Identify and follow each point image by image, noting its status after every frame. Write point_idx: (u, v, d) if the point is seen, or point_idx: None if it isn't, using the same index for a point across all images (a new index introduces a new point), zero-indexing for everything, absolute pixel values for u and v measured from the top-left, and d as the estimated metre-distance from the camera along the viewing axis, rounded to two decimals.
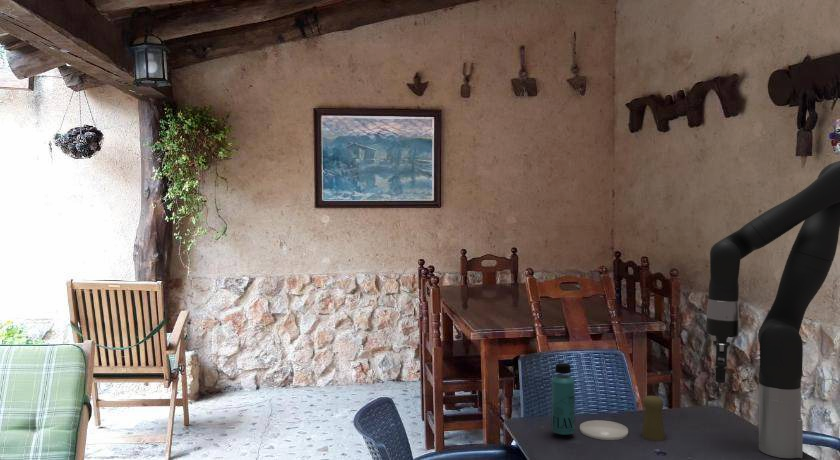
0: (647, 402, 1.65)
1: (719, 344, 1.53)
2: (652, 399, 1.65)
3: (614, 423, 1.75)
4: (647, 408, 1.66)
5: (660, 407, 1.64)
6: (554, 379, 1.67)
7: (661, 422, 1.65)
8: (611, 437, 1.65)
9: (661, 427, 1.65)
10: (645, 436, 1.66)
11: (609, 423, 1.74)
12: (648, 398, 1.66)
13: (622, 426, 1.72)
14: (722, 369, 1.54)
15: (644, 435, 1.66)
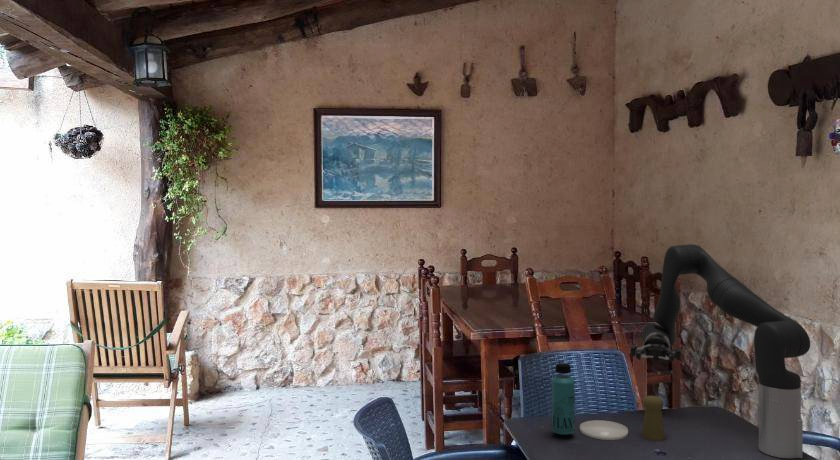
0: (647, 402, 1.65)
1: None
2: (652, 399, 1.65)
3: (614, 423, 1.75)
4: (647, 408, 1.66)
5: (660, 407, 1.64)
6: (554, 379, 1.67)
7: (661, 422, 1.65)
8: (611, 437, 1.65)
9: (661, 427, 1.65)
10: (645, 436, 1.66)
11: (609, 423, 1.74)
12: (648, 398, 1.66)
13: (622, 426, 1.72)
14: (636, 352, 1.83)
15: (644, 435, 1.66)
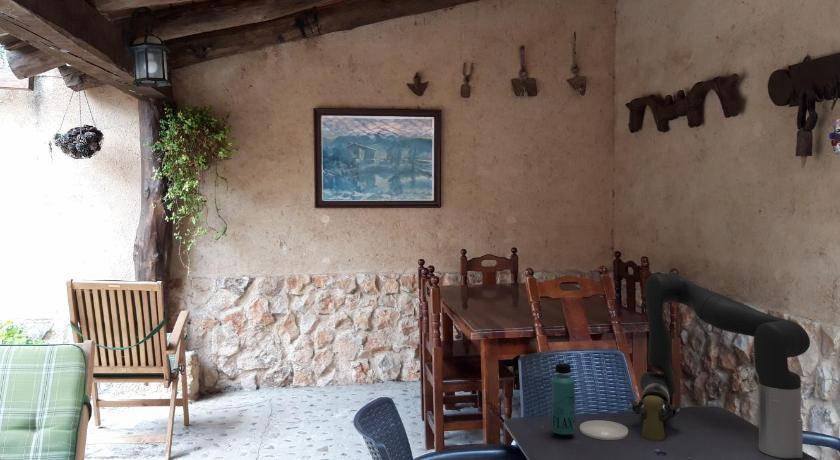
0: (647, 402, 1.65)
1: None
2: (652, 399, 1.65)
3: (614, 423, 1.75)
4: (647, 408, 1.66)
5: (660, 407, 1.64)
6: (554, 379, 1.67)
7: (661, 422, 1.65)
8: (611, 437, 1.65)
9: (661, 427, 1.65)
10: (645, 436, 1.66)
11: (609, 423, 1.74)
12: (648, 398, 1.66)
13: (622, 426, 1.72)
14: (641, 410, 1.70)
15: (644, 435, 1.66)
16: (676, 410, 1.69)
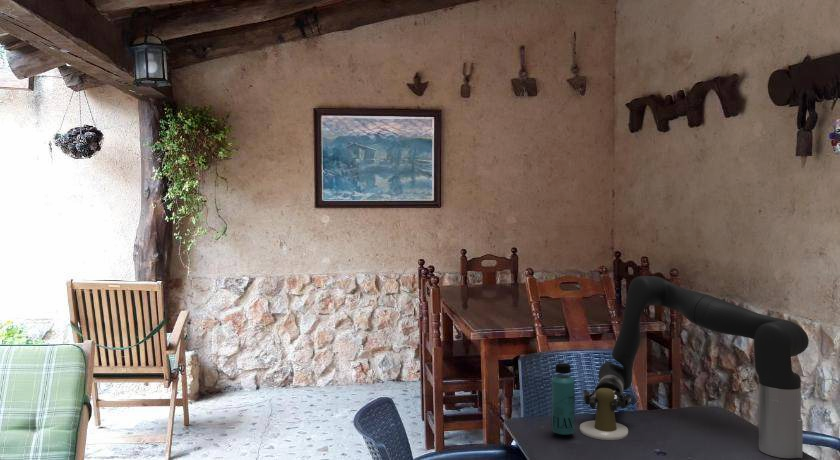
0: (599, 394, 1.70)
1: None
2: (604, 391, 1.69)
3: None
4: (599, 400, 1.70)
5: (611, 399, 1.69)
6: (554, 379, 1.67)
7: (612, 413, 1.69)
8: (611, 437, 1.65)
9: (612, 418, 1.69)
10: (597, 427, 1.70)
11: None
12: (600, 390, 1.70)
13: (622, 426, 1.72)
14: (590, 400, 1.74)
15: (596, 426, 1.70)
16: (628, 400, 1.74)
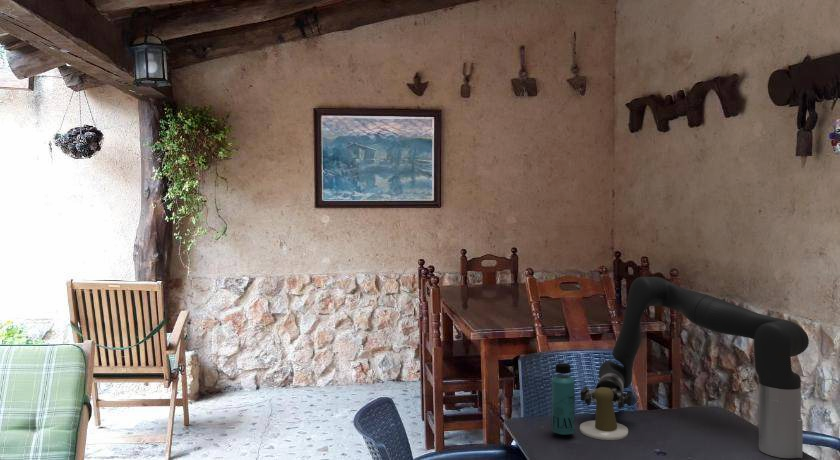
0: (597, 395, 1.69)
1: None
2: (602, 392, 1.68)
3: None
4: (598, 401, 1.69)
5: (610, 399, 1.68)
6: (554, 379, 1.67)
7: (612, 413, 1.69)
8: (611, 437, 1.65)
9: (612, 418, 1.69)
10: (597, 427, 1.70)
11: None
12: (598, 391, 1.69)
13: (622, 426, 1.72)
14: (585, 396, 1.77)
15: (597, 426, 1.70)
16: None
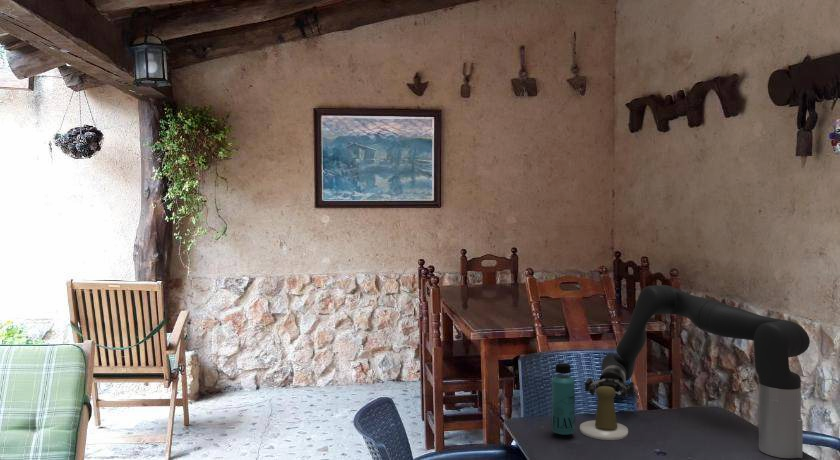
0: (599, 391, 1.71)
1: None
2: (603, 388, 1.71)
3: None
4: (599, 397, 1.71)
5: (611, 396, 1.70)
6: (554, 379, 1.67)
7: (612, 411, 1.70)
8: (611, 437, 1.65)
9: (612, 416, 1.69)
10: (597, 425, 1.70)
11: None
12: (600, 387, 1.72)
13: (622, 426, 1.72)
14: (590, 387, 1.86)
15: (596, 424, 1.71)
16: None
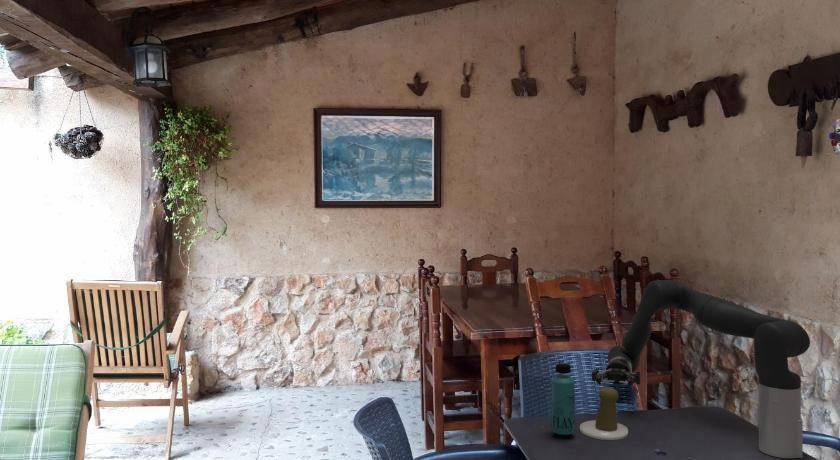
0: (601, 394, 1.69)
1: None
2: (607, 391, 1.69)
3: None
4: (601, 399, 1.70)
5: (613, 400, 1.68)
6: (554, 379, 1.67)
7: (614, 414, 1.69)
8: (611, 437, 1.65)
9: (613, 419, 1.69)
10: (597, 425, 1.70)
11: None
12: (603, 390, 1.70)
13: (622, 426, 1.72)
14: (596, 376, 1.87)
15: (596, 424, 1.71)
16: None
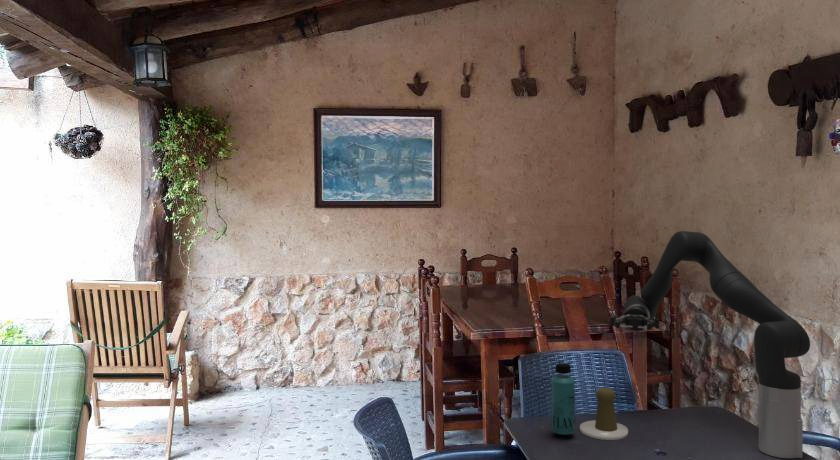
0: (598, 394, 1.70)
1: None
2: (603, 391, 1.69)
3: None
4: (598, 400, 1.70)
5: (610, 399, 1.68)
6: (554, 379, 1.67)
7: (612, 414, 1.69)
8: (611, 437, 1.65)
9: (612, 419, 1.69)
10: (596, 426, 1.70)
11: None
12: (600, 390, 1.70)
13: (622, 426, 1.72)
14: (615, 321, 1.85)
15: (596, 425, 1.71)
16: None
